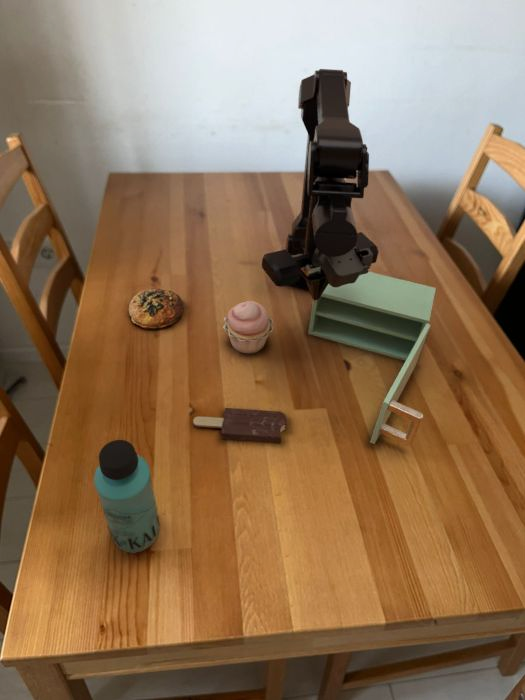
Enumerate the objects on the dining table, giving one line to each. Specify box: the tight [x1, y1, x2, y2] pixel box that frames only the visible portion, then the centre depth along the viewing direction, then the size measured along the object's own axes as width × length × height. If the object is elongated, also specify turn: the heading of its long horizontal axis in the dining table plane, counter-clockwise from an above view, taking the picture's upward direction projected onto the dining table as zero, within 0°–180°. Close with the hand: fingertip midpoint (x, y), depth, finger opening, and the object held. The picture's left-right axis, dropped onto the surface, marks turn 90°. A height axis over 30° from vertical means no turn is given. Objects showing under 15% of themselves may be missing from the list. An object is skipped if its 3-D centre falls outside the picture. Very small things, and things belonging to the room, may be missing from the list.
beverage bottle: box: [93, 439, 161, 553], centre depth 62 cm, size 6×7×20 cm
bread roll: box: [128, 287, 185, 330], centre depth 101 cm, size 11×11×5 cm
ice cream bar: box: [192, 407, 287, 444], centre depth 83 cm, size 5×2×15 cm
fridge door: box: [369, 323, 431, 447], centre depth 84 cm, size 6×21×10 cm, turn 149°
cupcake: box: [222, 300, 275, 355], centre depth 94 cm, size 9×9×10 cm
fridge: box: [307, 270, 437, 362], centre depth 97 cm, size 10×21×11 cm, turn 70°
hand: (314, 298), depth 89 cm, fingers closed
